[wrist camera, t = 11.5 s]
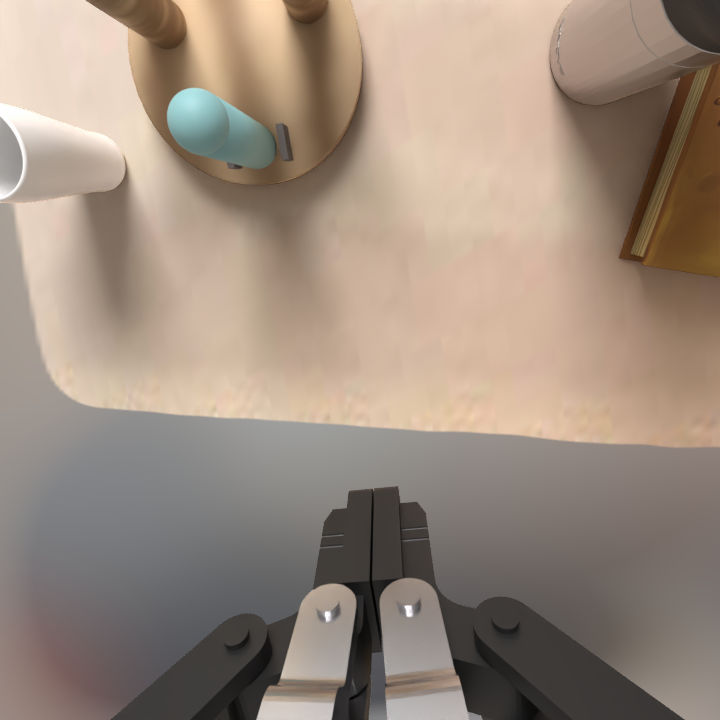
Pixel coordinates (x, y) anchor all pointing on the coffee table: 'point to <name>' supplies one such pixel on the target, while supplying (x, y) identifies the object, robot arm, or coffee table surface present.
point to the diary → (683, 184)
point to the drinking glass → (53, 158)
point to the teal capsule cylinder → (219, 130)
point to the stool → (250, 71)
